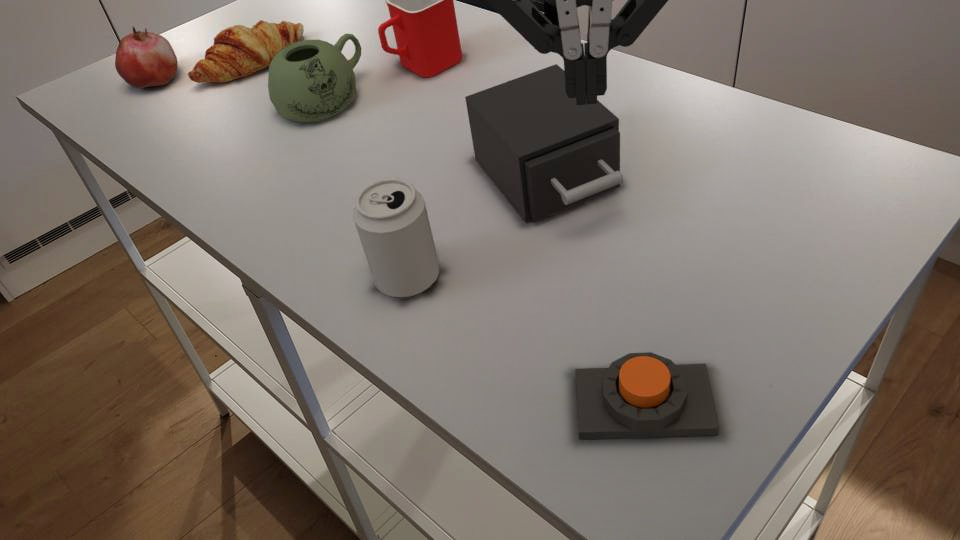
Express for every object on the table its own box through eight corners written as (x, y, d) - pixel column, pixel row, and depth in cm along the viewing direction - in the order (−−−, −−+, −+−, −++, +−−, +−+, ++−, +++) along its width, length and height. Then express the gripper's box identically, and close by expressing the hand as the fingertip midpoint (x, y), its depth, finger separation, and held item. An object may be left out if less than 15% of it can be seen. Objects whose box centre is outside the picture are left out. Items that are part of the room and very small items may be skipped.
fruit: (119, 85, 126) (90, 29, 119) (171, 61, 129) (145, 5, 122) (140, 104, 120) (111, 46, 113) (194, 78, 124) (168, 21, 117)
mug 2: (436, 42, 122) (424, -22, 115) (468, 58, 117) (458, -8, 110) (376, 74, 117) (359, 9, 110) (406, 92, 112) (391, 25, 105)
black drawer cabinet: (619, 185, 91) (619, 118, 84) (525, 223, 88) (518, 157, 82) (560, 127, 101) (556, 63, 94) (475, 160, 98) (464, 96, 92)
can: (435, 302, 81) (414, 219, 73) (368, 302, 83) (340, 220, 74) (445, 254, 86) (427, 170, 78) (382, 254, 88) (357, 173, 79)
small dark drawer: (639, 206, 87) (641, 151, 81) (551, 242, 84) (547, 188, 79) (564, 132, 99) (561, 79, 93) (486, 162, 96) (478, 110, 91)
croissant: (301, 49, 133) (278, 6, 131) (323, 38, 125) (299, -8, 122) (195, 102, 124) (168, 57, 121) (211, 94, 116) (182, 45, 113)
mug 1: (307, 139, 107) (288, 85, 101) (259, 109, 114) (239, 57, 108) (393, 88, 114) (381, 35, 108) (343, 63, 121) (329, 12, 115)
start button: (666, 366, 68) (667, 354, 67) (672, 407, 65) (673, 395, 64) (617, 368, 69) (617, 356, 68) (621, 409, 66) (621, 397, 65)
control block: (704, 369, 71) (707, 349, 69) (718, 437, 66) (721, 417, 64) (575, 374, 72) (574, 355, 70) (579, 441, 67) (577, 422, 65)
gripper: (452, -138, 39) (491, 137, 52) (713, -170, 38) (690, 121, 50) (461, -180, 45) (495, 78, 57) (691, -210, 43) (675, 62, 55)
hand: (586, 98), depth 53 cm, fingers closed
